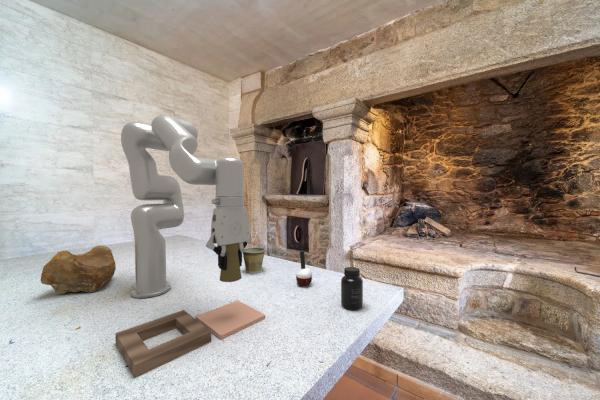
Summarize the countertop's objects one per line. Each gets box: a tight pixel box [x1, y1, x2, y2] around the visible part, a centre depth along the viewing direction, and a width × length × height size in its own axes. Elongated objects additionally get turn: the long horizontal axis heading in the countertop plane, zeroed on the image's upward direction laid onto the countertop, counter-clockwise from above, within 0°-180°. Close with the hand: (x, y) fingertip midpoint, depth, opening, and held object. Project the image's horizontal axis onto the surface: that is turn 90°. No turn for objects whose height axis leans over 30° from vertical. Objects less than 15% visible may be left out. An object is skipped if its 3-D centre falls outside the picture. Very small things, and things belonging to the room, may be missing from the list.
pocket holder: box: [115, 309, 212, 378], centre depth 60 cm, size 16×16×2 cm
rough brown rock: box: [40, 245, 117, 295], centre depth 93 cm, size 23×17×15 cm
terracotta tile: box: [195, 299, 266, 340], centre depth 71 cm, size 14×14×1 cm
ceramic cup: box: [242, 246, 266, 275], centre depth 114 cm, size 13×10×10 cm
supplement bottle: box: [340, 266, 364, 311], centre depth 80 cm, size 7×7×12 cm
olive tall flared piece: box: [219, 243, 242, 283], centre depth 71 cm, size 6×6×11 cm
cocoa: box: [295, 250, 313, 288], centre depth 97 cm, size 10×6×12 cm, turn 168°
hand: (230, 266), depth 71 cm, fingers closed on olive tall flared piece, 4 cm apart
